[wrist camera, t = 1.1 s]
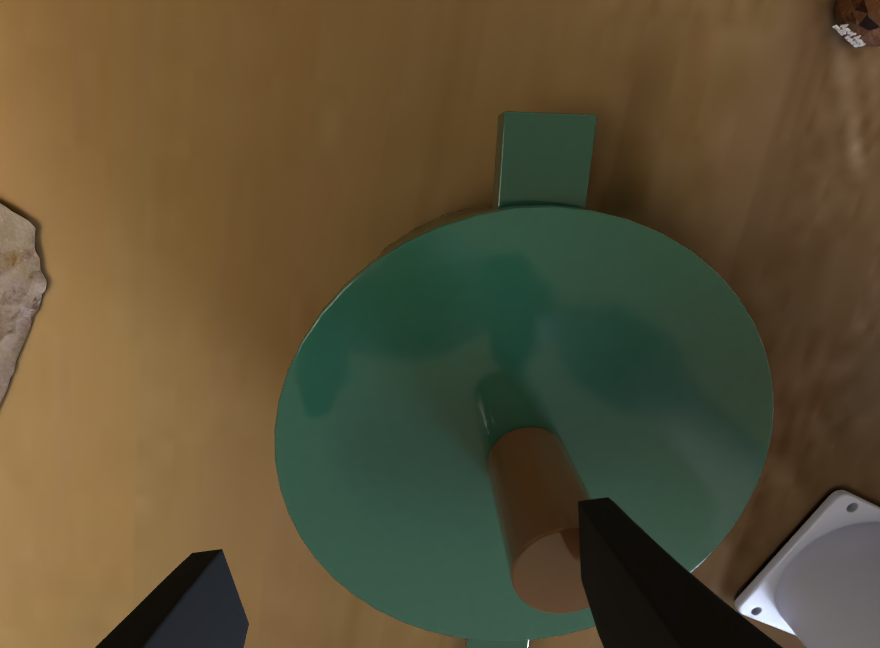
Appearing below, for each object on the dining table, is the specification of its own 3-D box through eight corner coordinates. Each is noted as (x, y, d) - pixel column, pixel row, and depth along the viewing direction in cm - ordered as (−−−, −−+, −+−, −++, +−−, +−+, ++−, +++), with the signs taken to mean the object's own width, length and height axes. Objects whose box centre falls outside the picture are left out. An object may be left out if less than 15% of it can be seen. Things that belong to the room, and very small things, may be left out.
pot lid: (807, 210, 13) (1037, 240, 8) (696, 610, 18) (799, 779, 13) (264, 194, 12) (162, 216, 7) (299, 615, 17) (252, 796, 12)
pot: (704, 133, 17) (832, 121, 12) (621, 554, 23) (679, 668, 18) (317, 118, 16) (269, 98, 11) (338, 556, 22) (313, 676, 17)
